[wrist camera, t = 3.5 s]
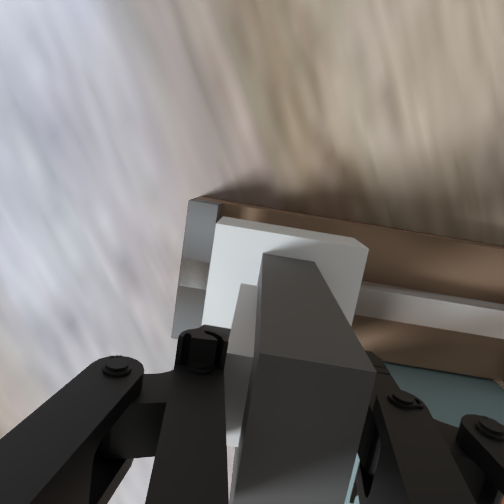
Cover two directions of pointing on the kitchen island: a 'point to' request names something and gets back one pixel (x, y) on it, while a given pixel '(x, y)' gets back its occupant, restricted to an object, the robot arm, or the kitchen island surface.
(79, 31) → the kitchen island surface
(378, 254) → the rail board
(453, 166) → the kitchen island surface
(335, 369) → the carriage
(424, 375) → the cabinet
